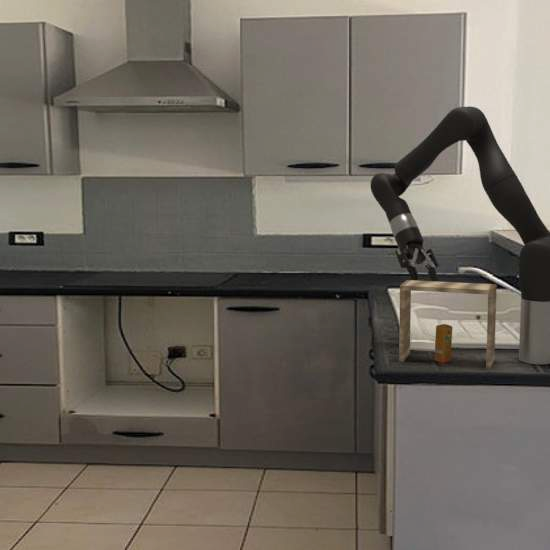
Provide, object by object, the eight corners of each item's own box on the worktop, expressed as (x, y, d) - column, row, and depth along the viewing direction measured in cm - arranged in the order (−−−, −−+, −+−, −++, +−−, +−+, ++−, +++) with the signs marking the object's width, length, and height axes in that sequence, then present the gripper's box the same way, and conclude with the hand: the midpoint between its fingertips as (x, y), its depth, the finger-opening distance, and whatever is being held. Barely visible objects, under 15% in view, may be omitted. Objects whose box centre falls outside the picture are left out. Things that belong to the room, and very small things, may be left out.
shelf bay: (494, 360, 227) (496, 284, 224) (490, 369, 219) (493, 290, 215) (405, 353, 235) (406, 280, 232) (399, 361, 227) (399, 285, 224)
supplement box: (443, 363, 225) (444, 327, 223) (434, 360, 228) (434, 325, 226) (451, 361, 227) (452, 325, 225) (442, 358, 230) (443, 323, 228)
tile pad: (449, 343, 247) (449, 341, 247) (443, 352, 237) (443, 350, 237) (412, 340, 251) (412, 338, 251) (404, 349, 240) (404, 347, 240)
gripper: (398, 223, 237) (419, 273, 230) (430, 227, 246) (451, 275, 239) (381, 237, 241) (400, 286, 235) (413, 240, 251) (432, 287, 244)
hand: (426, 280), depth 237 cm, fingers open, 8 cm apart
